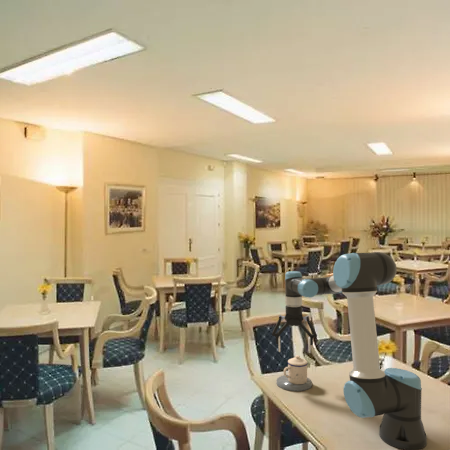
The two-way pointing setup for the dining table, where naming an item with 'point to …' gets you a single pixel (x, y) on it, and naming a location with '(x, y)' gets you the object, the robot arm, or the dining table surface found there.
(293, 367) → the teacup with lid
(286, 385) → the pad
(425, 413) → the dining table surface
